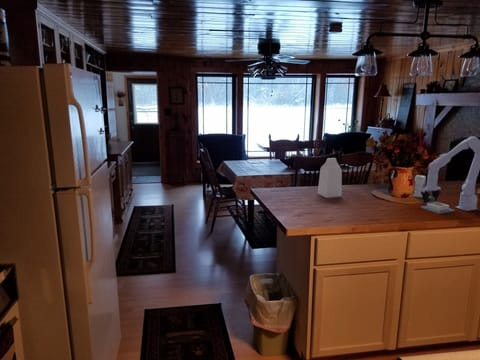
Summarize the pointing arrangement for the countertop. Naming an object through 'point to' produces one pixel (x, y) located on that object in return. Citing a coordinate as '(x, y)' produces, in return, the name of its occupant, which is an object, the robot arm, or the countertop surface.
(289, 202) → the countertop surface
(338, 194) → the milk
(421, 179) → the syrup box
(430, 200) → the plug
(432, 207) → the socket plate
